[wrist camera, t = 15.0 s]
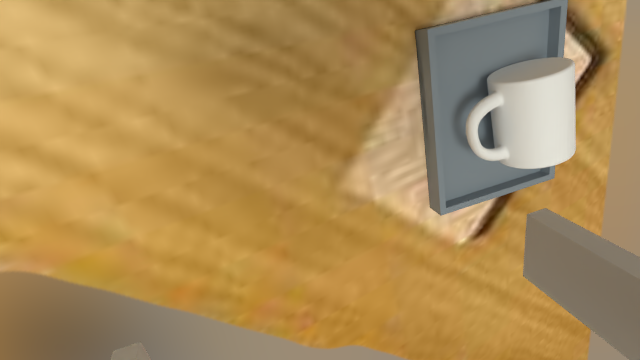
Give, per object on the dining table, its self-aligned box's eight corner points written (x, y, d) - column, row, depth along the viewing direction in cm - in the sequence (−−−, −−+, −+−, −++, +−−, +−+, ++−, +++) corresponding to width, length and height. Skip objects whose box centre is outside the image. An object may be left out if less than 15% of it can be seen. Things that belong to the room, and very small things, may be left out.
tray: (415, 30, 37) (427, 29, 35) (548, -1, 40) (568, -4, 38) (430, 207, 46) (440, 215, 44) (538, 172, 49) (554, 178, 46)
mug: (530, 55, 41) (595, 57, 34) (534, 133, 45) (594, 149, 38) (440, 92, 39) (488, 101, 32) (453, 168, 44) (499, 191, 36)
